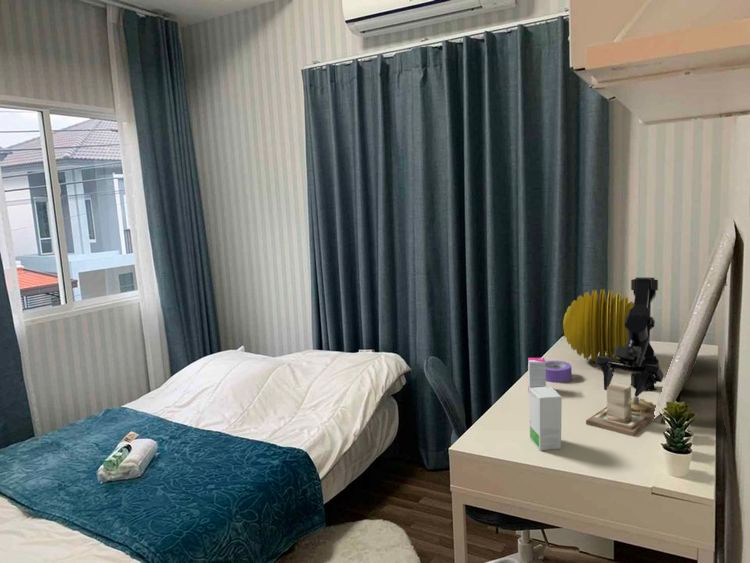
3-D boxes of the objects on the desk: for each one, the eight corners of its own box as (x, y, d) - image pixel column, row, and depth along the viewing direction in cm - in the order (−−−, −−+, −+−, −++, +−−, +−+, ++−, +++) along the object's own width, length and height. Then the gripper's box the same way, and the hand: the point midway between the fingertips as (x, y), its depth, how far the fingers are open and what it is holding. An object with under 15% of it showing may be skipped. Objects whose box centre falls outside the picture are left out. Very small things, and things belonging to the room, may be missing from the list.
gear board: (621, 400, 185) (620, 388, 185) (665, 410, 175) (665, 397, 174) (586, 424, 169) (585, 410, 169) (632, 436, 159) (632, 422, 158)
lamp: (643, 376, 206) (643, 296, 202) (559, 371, 220) (557, 295, 215) (644, 354, 233) (644, 282, 229) (568, 350, 246) (567, 282, 242)
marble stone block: (613, 412, 174) (612, 381, 172) (635, 417, 168) (635, 385, 167) (602, 419, 169) (602, 387, 168) (625, 424, 164) (625, 392, 162)
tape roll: (567, 384, 205) (567, 371, 204) (535, 380, 211) (535, 368, 210) (574, 374, 215) (574, 362, 214) (543, 371, 221) (543, 359, 220)
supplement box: (546, 393, 197) (545, 361, 195) (529, 393, 198) (528, 362, 197) (545, 387, 203) (544, 357, 201) (528, 387, 204) (527, 357, 202)
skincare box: (529, 439, 162) (527, 387, 160) (551, 436, 163) (550, 385, 160) (540, 451, 154) (538, 397, 152) (563, 449, 154) (562, 395, 152)
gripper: (597, 331, 176) (581, 374, 170) (659, 339, 162) (644, 386, 157) (609, 349, 182) (593, 391, 177) (670, 358, 169) (655, 404, 163)
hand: (620, 392), depth 168 cm, fingers open, 9 cm apart
